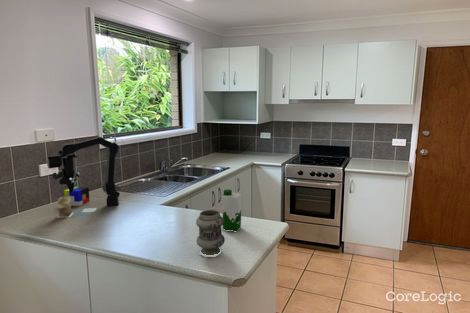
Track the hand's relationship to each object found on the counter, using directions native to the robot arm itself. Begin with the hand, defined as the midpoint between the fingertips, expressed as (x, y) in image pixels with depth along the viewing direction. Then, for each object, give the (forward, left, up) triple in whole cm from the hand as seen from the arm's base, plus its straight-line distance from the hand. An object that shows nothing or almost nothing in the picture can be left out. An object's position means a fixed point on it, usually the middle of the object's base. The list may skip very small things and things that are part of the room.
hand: (71, 192), depth 193 cm
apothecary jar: (-74, +64, -13) cm, 99 cm away
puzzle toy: (+3, -19, -13) cm, 23 cm away
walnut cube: (+3, +4, -12) cm, 13 cm away
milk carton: (-87, +39, -13) cm, 96 cm away
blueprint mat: (-2, +1, -13) cm, 13 cm away
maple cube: (+3, +4, -7) cm, 9 cm away
